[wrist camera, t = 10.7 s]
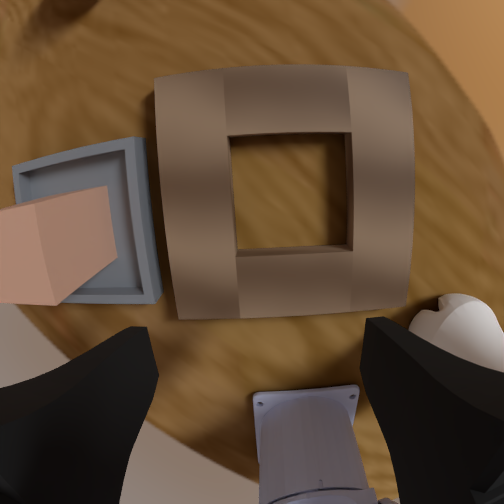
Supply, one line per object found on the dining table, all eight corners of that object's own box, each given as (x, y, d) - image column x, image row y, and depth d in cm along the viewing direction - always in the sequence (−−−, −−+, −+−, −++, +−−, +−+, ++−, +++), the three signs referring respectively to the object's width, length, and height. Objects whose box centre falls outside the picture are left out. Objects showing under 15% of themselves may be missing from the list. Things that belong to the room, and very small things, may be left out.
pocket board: (396, 296, 19) (405, 306, 18) (184, 308, 20) (178, 319, 18) (397, 78, 15) (408, 72, 14) (162, 83, 16) (154, 78, 14)
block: (117, 257, 18) (56, 305, 12) (63, 260, 19) (-3, 302, 12) (107, 185, 17) (34, 203, 10) (51, 195, 17) (-23, 216, 11)
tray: (163, 291, 20) (155, 303, 18) (50, 291, 20) (37, 301, 18) (145, 138, 17) (133, 136, 15) (28, 164, 17) (12, 166, 16)
